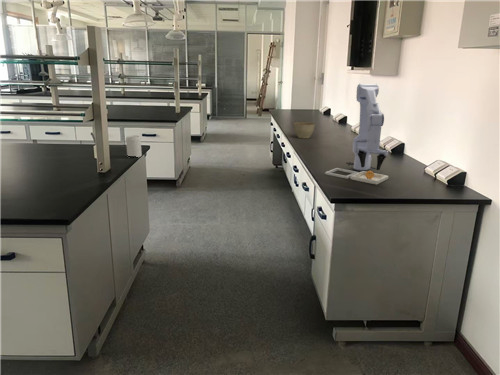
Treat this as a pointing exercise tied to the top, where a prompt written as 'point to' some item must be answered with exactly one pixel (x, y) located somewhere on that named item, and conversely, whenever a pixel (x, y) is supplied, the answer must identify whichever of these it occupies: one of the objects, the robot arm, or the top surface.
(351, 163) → the black flat plate
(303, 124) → the planter bowl
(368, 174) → the ball
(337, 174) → the tray
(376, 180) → the dish
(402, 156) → the top surface
